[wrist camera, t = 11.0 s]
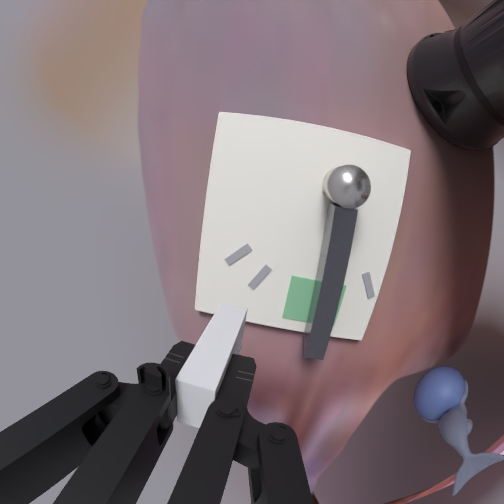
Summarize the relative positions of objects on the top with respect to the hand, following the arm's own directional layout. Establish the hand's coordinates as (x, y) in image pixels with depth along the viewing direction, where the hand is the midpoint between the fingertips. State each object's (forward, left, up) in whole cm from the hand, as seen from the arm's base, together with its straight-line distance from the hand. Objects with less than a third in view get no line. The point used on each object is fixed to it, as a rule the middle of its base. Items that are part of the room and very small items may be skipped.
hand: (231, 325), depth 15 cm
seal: (-31, +15, -15) cm, 37 cm away
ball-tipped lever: (-7, -1, -13) cm, 15 cm away
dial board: (-4, -3, -15) cm, 16 cm away
